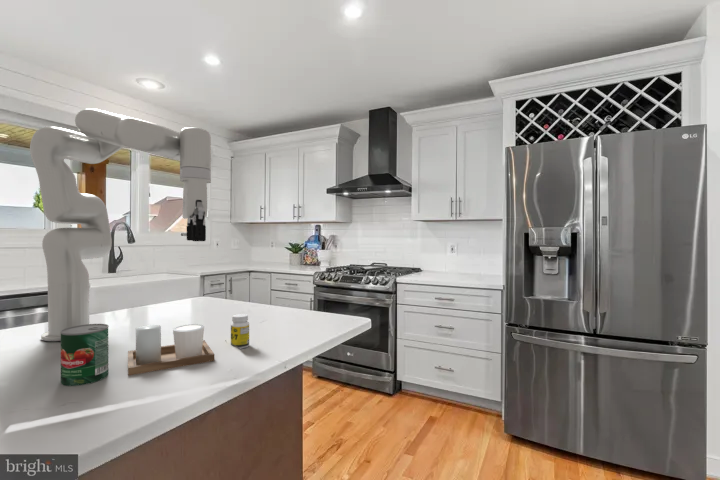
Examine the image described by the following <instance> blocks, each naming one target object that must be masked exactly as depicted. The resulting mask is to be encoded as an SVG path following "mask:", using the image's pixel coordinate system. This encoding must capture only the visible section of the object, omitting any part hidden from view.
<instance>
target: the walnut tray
mask: <svg viewBox="0 0 720 480" xmlns="http://www.w3.org/2000/svg"><path fill="white" fill-rule="evenodd" d="M210 362H215V353H214V351H213V350H212V349H211V347H210V345H208V342H207V341H206V340H204V339H203V345H202V355H198V356H192V357H186V358H179V359H176V353H175V344H168V345H167V344H166V345H161V362H154V363H148V364H142V365H136V349H133V350H128V351H127V373H128V374H127V375H128V377H129V376H133V375H138V374H144V373H145V374H146V373H152V372H157V371H163V370H169V369H176V368H181V367H187V366H192V365H193V366H194V365H197V364H198V365H199V364H204V363H210Z"/></svg>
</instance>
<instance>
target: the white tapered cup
mask: <svg viewBox="0 0 720 480" xmlns="http://www.w3.org/2000/svg"><path fill="white" fill-rule="evenodd" d="M204 332H205V325H204V324H203V325H202V324H198V323H197V324H196V323H195V324H194V323H193V324H185V325H184V324H183V325H179V326H175V327H174V328H172V334H173V343H174V344H175V353H176V359H179V358H186V357H192V356H198V355H202V345H203V340H204ZM174 344H173V345H174Z"/></svg>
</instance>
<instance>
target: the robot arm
mask: <svg viewBox="0 0 720 480" xmlns="http://www.w3.org/2000/svg"><path fill="white" fill-rule="evenodd" d="M74 122H75V126H76V128H77V130H78V131H79V132H78V131H75V130H71V129H67V128H63V127H58V126H43V127H41V128H39V129H37V130H36V131H35V132H34V133H33V135H32V137H31V139H30V145H29V153H30V156H31V157H30V158H31V160H32V164H33V166H34V168H35V171H36V174H37V178H38V182H39V183H38V185H39V189H40V196H41V200H42V201H41V202H42V208H43V211H44V215H45V217H46V219H47V220H49V221H50V222H51V223H54V224H55V223H56V224H63V225H65V224H66V225H69V224H70V225H80V227H59V228H54V229H52V230H49V231H47V233H46V234H45V235H44V236H43V238H42V243H41V245H42V251H43V255H44V258H45V263H46V272H47V273H46V275H47V325H48V326H47V327H48V329H47V330H48V331H47V332H44V333H42V334H41V335H40V339H41V340H42V341H44V342H61V333H60V332H61V330H63V329H66V328H69V327H73V326H79V325H86V324H90V276H89V271H88V269H87V266H86V265H85V263H84V262H83V261H82V260H90V259H91V260H92V259H101V258H104V257H105V256H107V255H108V254H109V253H110V251H111V250H112V245H113V243H112V242H113V239H112V232H111V225H110V221H109V220H110V219H109V215H108V210H107V206H106V204H105V202H104V201H103V200H102V199H101V198H100V197H99V196H97V195H95V194H91V193H81V192H80V191H79V189H78V184H77V178H76V175H75V174H74V172H73V170H72V169H71V168H70V166H69V165H68V164H67V162H66V161H65V160H68V161H74V162H79V163H85V164H88V165H89V164H90V165H95V164H100V163H102V162H104V161H105V160H108V159H109V158H110V157H112V156H113V155H115V154H116V153H117V152H119V151H121V150H122V149H124V148H125V149H135V150H138V151H141V152H145V153H148V154H150V155H151V154H152V155H157V156H159V157H163V158H167V159H171V160H174V161H179V182H181V183H183V189H182V191H183V192H182V219H185V220H186V219H187V221H186V240H187V241H192V242H206V240H207V239H206V238H207V233H206V231H207V230H206V229H207V226H206V218H207V216H208V186H207V185H208V184H210V183H212V165H211V164H212V153H211V151H212V147H211V145H212V138H211V134H210V132H209V131H208V130H206V129H203V128H201V127H193V126H192V127H190V126H188V127H183V128H182V129H180V131H176V130H174V129H171V128H168V127H165V126H163V125H160V124H157V123H155V122H149V121H148V120H147V121H146V120H142V119H139V118H134V117H131V116H126V115H123V114H117V113H113V112H109V111H106V110H103V109H102V110H101V109H98V108H84V109H82V110H80V111H79V112H77V114H76V115H75V118H74Z"/></svg>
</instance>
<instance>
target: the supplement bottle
mask: <svg viewBox="0 0 720 480" xmlns="http://www.w3.org/2000/svg"><path fill="white" fill-rule="evenodd" d="M231 318H232V319H231V321H232V322H231V323H230V345H231V347H232V346H233V347H236V348H237V349H238V350H242V349H246V348H248V347H249V346H250V322H249V315H248V314H247V313H237V314H233V315H232V317H231Z"/></svg>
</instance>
